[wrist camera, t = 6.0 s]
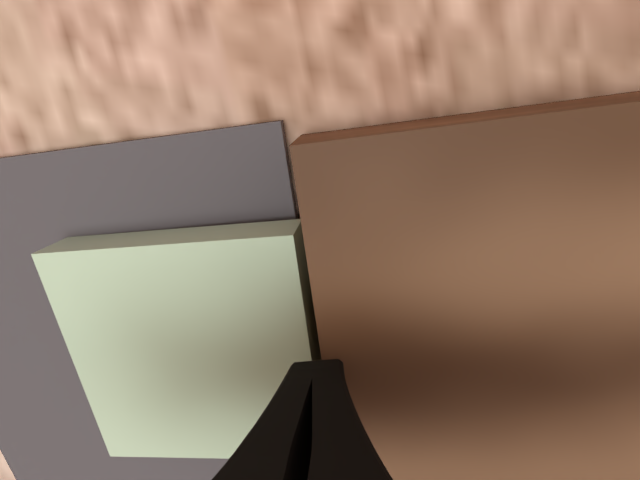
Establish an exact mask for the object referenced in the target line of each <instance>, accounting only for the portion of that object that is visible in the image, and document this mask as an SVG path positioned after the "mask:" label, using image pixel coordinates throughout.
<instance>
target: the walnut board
mask: <svg viewBox="0 0 640 480" xmlns="http://www.w3.org/2000/svg"><path fill="white" fill-rule="evenodd" d="M289 147H290V154H291V160H292V167H293V174H294V180H295V187H296V193H297V200H298V207H299V213H300V220H301V226H302V233H303V240H304V246H305V253H306V259H307V266H308V273H309V279H310V286H311V292H312V299H313V306H314V312H315V319H316V325H317V332H318V339H319V345H320V352H321V358H322V360H329V359H339V360H341V361H342V362H343V366H344V374H345V380H346V384H347V387H348V390H349V393H350V396H351V399H352V401H353V404H354V406H355V408H356V411H357V413H358V415H359V418H360V420H361V422H362V424H363V426H364V429H365V431H366V433H367V435H368V436H369V438H370V440H371V442H372V444H373V446H374V448H375V450H376V452H377V453H378V455H379V457H380V459H381V460H382V462H383V464H384V466H385V467H386V469H387V470H388V472H389V474H390V475H391V477H392V479H393V480H640V91H637V92H629V93H621V94H614V95H606V96H598V97H590V98H583V99H575V100H567V101H559V102H552V103H544V104H536V105H529V106H521V107H513V108H505V109H498V110H490V111H482V112H475V113H467V114H459V115H451V116H444V117H436V118H428V119H420V120H413V121H405V122H397V123H390V124H382V125H374V126H366V127H359V128H351V129H343V130H336V131H328V132H320V133H312V134H305V135H301V136H300V137H299V138H297V139H296V140H295V141H294V142H293V143H292V144H291V145H290V146H289Z"/></svg>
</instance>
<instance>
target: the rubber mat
mask: <svg viewBox="0 0 640 480" xmlns="http://www.w3.org/2000/svg"><path fill="white" fill-rule="evenodd" d="M292 219H298V216H297V210H296V203H295V196H294V190H293V183H292V177H291V170H290V164H289V157H288V151H287V144H286V138H285V131H284V125H283V120H280V121H273V122H265V123H258V124H250V125H243V126H235V127H228V128H220V129H213V130H206V131H198V132H191V133H183V134H176V135H168V136H161V137H153V138H146V139H138V140H131V141H123V142H116V143H108V144H101V145H93V146H86V147H78V148H71V149H63V150H56V151H48V152H41V153H33V154H26V155H18V156H11V157H3V158H0V450H1V452H2V454H3V455H4V457H5V459H6V461H7V463H8V465H9V467H10V469H11V471H12V472H13V474H14V476H15V478H16V480H212V478H213V477H214V476H215V475H216V474H217V473H218V472H219V470H220V469H221V468H222V467H223V466H224V464H225V463H226V462H227V461H228V459H220V458H166V457H112V456H110V455H109V452H108V450H107V447H106V445H105V442H104V440H103V437H102V434H101V432H100V429H99V427H98V424H97V422H96V419H95V417H94V414H93V411H92V409H91V406H90V404H89V401H88V399H87V396H86V394H85V391H84V388H83V386H82V383H81V381H80V378H79V376H78V373H77V371H76V368H75V366H74V363H73V360H72V358H71V355H70V353H69V350H68V348H67V345H66V343H65V340H64V337H63V335H62V332H61V330H60V327H59V325H58V322H57V320H56V317H55V315H54V312H53V309H52V307H51V304H50V302H49V299H48V297H47V294H46V292H45V289H44V286H43V284H42V281H41V279H40V276H39V274H38V271H37V269H36V266H35V263H34V261H33V258H32V256H31V254H32V253H34V252H37V251H39V250H41V249H43V248H45V247H47V246H49V245H52V244H54V243H56V242H58V241H60V240H62V239H65V238H67V237H76V236H88V235H101V234H114V233H127V232H139V231H152V230H165V229H178V228H190V227H203V226H216V225H229V224H241V223H254V222H267V221H280V220H292Z"/></svg>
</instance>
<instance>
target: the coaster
mask: <svg viewBox="0 0 640 480" xmlns="http://www.w3.org/2000/svg"><path fill="white" fill-rule="evenodd" d="M31 256H32V258H33V261H34V263H35V266H36V269H37V271H38V274H39V276H40V279H41V281H42V284H43V286H44V289H45V292H46V294H47V297H48V299H49V302H50V304H51V307H52V309H53V312H54V315H55V317H56V320H57V322H58V325H59V327H60V330H61V332H62V335H63V337H64V340H65V343H66V345H67V348H68V350H69V353H70V355H71V358H72V360H73V363H74V366H75V368H76V371H77V373H78V376H79V378H80V381H81V383H82V386H83V388H84V391H85V394H86V396H87V399H88V401H89V404H90V406H91V409H92V411H93V414H94V417H95V419H96V422H97V424H98V427H99V429H100V432H101V434H102V437H103V440H104V442H105V445H106V447H107V450H108V452H109V455H110V456H112V457H166V458H220V459H229V458H230V457H231V456H232V454H233V453H234V452H235V451H236V449H237V448H238V447H239V445H240V444H241V442H242V441H243V440H244V438H245V437H246V436H247V434H248V433H249V432H250V430H251V429H252V428H253V426H254V425H255V423H256V422H257V420H258V419H259V417H260V416H261V414H262V413H263V411H264V410H265V408H266V407H267V405H268V404H269V402H270V401H271V399H272V397H273V396H274V394H275V392H276V391H277V389H278V387H279V386H280V384H281V382H282V381H283V379H284V377H285V375H286V374H287V372H288V370H289V368H290V366H291V365H292V364H293V363H294V362H303V361H316V360H322V358H321V352H320V345H319V339H318V332H317V325H316V319H315V312H314V306H313V299H312V292H311V286H310V279H309V273H308V266H307V259H306V253H305V246H304V240H303V233H302V226H301V220H300V219H292V220H280V221H267V222H254V223H241V224H229V225H216V226H203V227H190V228H178V229H165V230H152V231H139V232H127V233H114V234H101V235H88V236H76V237H67V238H65V239H62V240H60V241H58V242H56V243H54V244H52V245H49V246H47V247H45V248H43V249H41V250H39V251H37V252H34V253H32V254H31Z"/></svg>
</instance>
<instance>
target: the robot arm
mask: <svg viewBox="0 0 640 480" xmlns="http://www.w3.org/2000/svg"><path fill="white" fill-rule="evenodd" d="M212 480H393V479H392V477H391V475H390V474H389V472H388V470H387V469H386V467H385V466H384V464H383V462H382V460H381V459H380V457H379V455H378V453H377V452H376V450H375V448H374V446H373V444H372V442H371V440H370V438H369V436H368V435H367V433H366V431H365V429H364V426H363V424H362V422H361V420H360V418H359V415H358V413H357V411H356V408H355V406H354V404H353V401H352V399H351V396H350V393H349V390H348V387H347V384H346V380H345V374H344V366H343V362H342V361H341V360H339V359H329V360H316V361H303V362H294V363H293V364H292V365H291V366H290V368H289V370H288V372H287V374H286V375H285V377H284V379H283V381H282V382H281V384H280V386H279V387H278V389H277V391H276V392H275V394H274V396H273V397H272V399H271V401H270V402H269V404H268V405H267V407H266V408H265V410H264V411H263V413H262V414H261V416H260V417H259V419H258V420H257V422H256V423H255V425H254V426H253V428H252V429H251V430H250V432H249V433H248V434H247V436H246V437H245V438H244V440H243V441H242V442H241V444H240V445H239V447H238V448H237V449H236V451H235V452H234V453H233V454H232V456H231V457H230V458H229V459H228V461H227V462H226V463H225V464H224V466H223V467H222V468H221V469H220V470H219V472H218V473H217V474H216V475H215V476H214V477H213V478H212Z"/></svg>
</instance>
